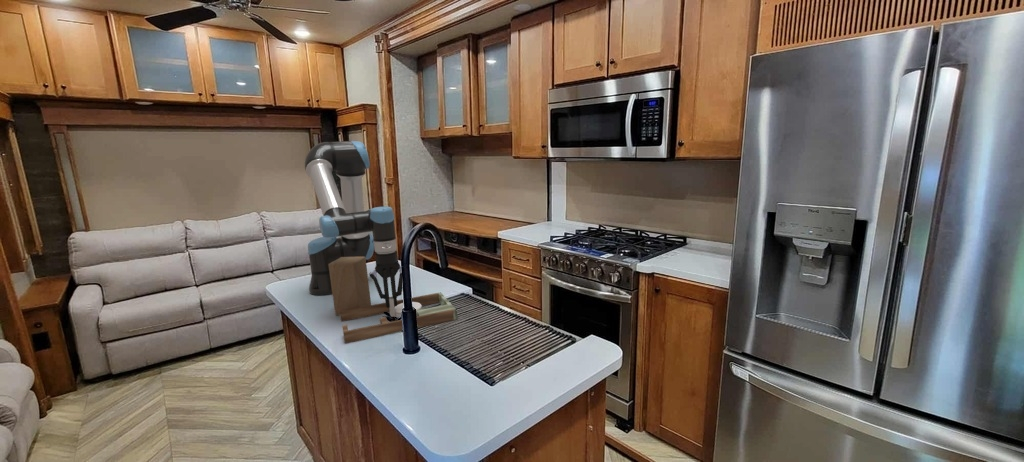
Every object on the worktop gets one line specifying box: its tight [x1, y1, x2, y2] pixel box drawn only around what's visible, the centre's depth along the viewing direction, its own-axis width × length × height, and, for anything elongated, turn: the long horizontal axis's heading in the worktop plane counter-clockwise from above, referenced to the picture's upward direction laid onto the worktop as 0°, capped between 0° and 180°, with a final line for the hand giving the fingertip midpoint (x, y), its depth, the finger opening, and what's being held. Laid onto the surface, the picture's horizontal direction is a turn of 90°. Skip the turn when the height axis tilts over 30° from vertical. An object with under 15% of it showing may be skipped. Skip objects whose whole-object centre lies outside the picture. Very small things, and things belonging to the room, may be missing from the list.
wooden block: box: [329, 257, 372, 316], centre depth 161 cm, size 10×10×20 cm
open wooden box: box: [339, 292, 458, 344], centre depth 151 cm, size 21×37×4 cm, turn 115°
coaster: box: [394, 302, 423, 318], centre depth 155 cm, size 10×10×4 cm
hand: (392, 315), depth 152 cm, fingers closed
